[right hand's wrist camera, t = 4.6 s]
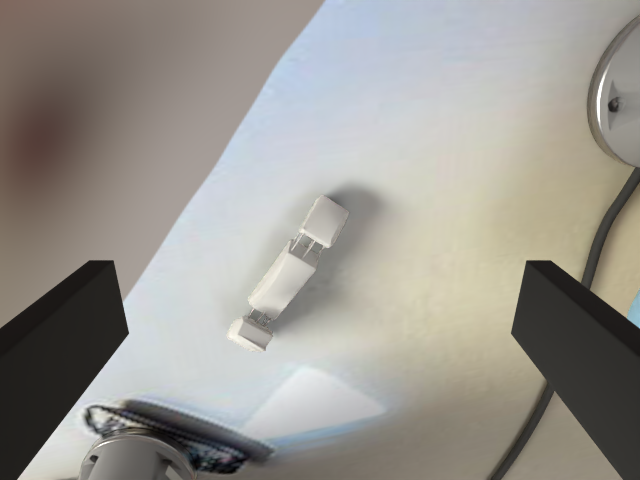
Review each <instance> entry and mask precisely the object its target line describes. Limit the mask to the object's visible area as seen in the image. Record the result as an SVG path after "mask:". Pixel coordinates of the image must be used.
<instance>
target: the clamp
mask: <svg viewBox="0 0 640 480" xmlns="http://www.w3.org/2000/svg"><path fill="white" fill-rule="evenodd" d="M348 216H349V211H347V210H346V209H344V208H343V207H341V206H340V205H338V204H336V203H335V202H333V201H332V200H330V199H329V198H327V197H326V196H323V195H321V196H320V197H319V198H318V199H316V200H315V202H314V204H313V206H312V207H311V209H310V211H309V213H308V214H307V216H306V218H305V220H304V221H303V223H302V225H301V227H300V228H299V230H298V234H297V235H296V237H295V239H294V240H290V241H289V242H288V243H287V245H286V246H285V248H284V249H283V250H282V252H281V253H280V255H279V256H278V257H277V259H276V260H275V261H274V263H273V264H272V266H271V267H270V268H269V270H268V271H267V273H266V274H265V275H264V277H263V278H262V279H261V281H260V282H259V284H258V285H257V286H256V288H255V289H254V290H253V292H252V293H251V295H250V296H249V297H248V302H249V303H250V305H251V307H253V309H252V310H251V312H250V314H249V316H248V317H247V316H245V315H244V316H242V317H240V318H238V319H236V320H234V321H233V323H232V325H231V327H230V329H229V330H228V332H227V338H228V339H230V340H231V341H233V342H235V343H237V344H238V345H240V346H242V347H243V348H245V349H247V350H249V351H256V352H263V351H265V350H266V346H267V345H268V343H269V342H270V340H271V339H272V337H273V335H272V331H270V330H268V327H266V325H267V324H268V323H269V322H270V321H271V319H272V320H275V319H276V318H277V317H278V316H279V315H280V314H281V313H282V311H283V310H284V309H285V308H286V307H287V305H288V304H289V303H290V302H291V300H292V299H293V298H294V297H295V295H296V294H297V293H298V292H299V290H300V289H301V288H302V287H303V286H304V284H305V283H306V282H307V281H308V280H309V278H310V277H311V276H312V275H313V274H314V272H315V271H316V269H317V265H318V260H319V257H320V255H321V252H322V251H323V249H324V248H325V247H326V248H329V247H332V245H333V244H334V242H335V241H336V239H337V238H338V236H339V234H340V232H341V230H342V228H343V227H344V224H345V222H346V220H347V218H348ZM300 233H301V236H300V237H299V239H298V241H296V239H297V237H298V235H299V234H300ZM303 235H306V236H307V237H309V238H311V239H313V240H312V241H311V243H310V244H309V246H308V247H305V246H304V245H302V244H300V243H299V241H300V239H301V238H302V236H303ZM315 242H318V243H320V244H321V245H323V247H322V249H321V250H320V251H319V253H318V254H317V253H315V252H314V251H312V250H311V248H312V246H313V245H314V243H315ZM254 309H256V310H258V311H259V312H261V313H262V315H261V316H260V317H259V318H258V320H257V321H255V320H253V319H251V318H249V317H250V316H251V314H252V312H253V310H254ZM263 315H266V318H265V319H264V321H263V324H260V323H258V321H259V320H260V319H261V317H262V316H263ZM268 317H269V318H270V319H269V320H268V321H267V322H266V323H265V321H266V319H267V318H268ZM264 323H265V325H264Z"/></svg>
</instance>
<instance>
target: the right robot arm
mask: <svg viewBox="0 0 640 480" xmlns="http://www.w3.org/2000/svg"><path fill="white" fill-rule="evenodd" d="M587 115H588V122H589V126H590V130H591V132H592V135H593V137H594V139H595V141H596V142H597V144H598V145H599V147H600V148H601V149H602V150H603V151H604V152H605V153H606V154H607V155H608V156H610V157H611V158H613V159H614V160H616V161H618V162H620V163H623V164H625V165H629V166H633V167H636V168H635V169H634V171H633V172H632V174H631V176H630V177H629V179H628V181H627V182H626V184H625V185H624V187H623V189H622V190H621V192H620V193H619V195H618V196H617V198H616V199H615V201H614V202H613V203H612V205H611V206H610V208H609V209H608V211H607V212H606V214H605V216H604V218H603V220H602V222H601V224H600V226H599V228H598V231H597V233H596V236H595V238H594V241H593V244H592V247H591V250H590V254H589V257H588V261H587V264H586V268H585V272H584V275H583V279H582V282H581V283H580V282H578V281H577V280H576V279H574V278H573V277H572V276H570V275H569V274H568V273H566V272H565V271H564V270H562V269H561V268H560V267H559V266H557V265H556V264H555V263H553V262H552V261H551V260H527V261H526V265H525V270H524V275H523V279H522V284H521V289H520V293H519V298H518V303H517V308H516V312H515V317H514V322H513V326H512V331H511V334H512V335H513V337H514V338H515V339H516V341H517V342H518V343H519V345H520V346H521V347H522V349H523V350H524V351H525V352H526V354H527V355H528V356H529V358H530V359H531V360H532V362H533V363H534V364H535V365H536V367H537V368H538V369H539V371H540V372H541V373H542V375H543V376H544V377H545V379H546V380H547V381H548V384H547V387H546V389H545V391H544V393H543V395H542V397H541V400H540V402H539V404H538V406H537V408H536V410H535V412H534V414H533V415H532V417H531V419H530V421H529V423H528V424H527V426H526V428H525V430H524V431H523V433H522V435H521V436H520V438H519V440H518V441H517V443H516V444H515V446H514V447H513V449H512V451H511V452H510V454H509V455H508V456H507V458H506V459H505V461H504V462H503V464H502V465H501V466H500V468H499V469H498V470H497V472H496V473H495V474H494V476H493V477H492V479H491V480H501V479H502V477H503V476H504V475H505V473H506V472H507V471H508V469H509V468H510V466H511V465H512V464H513V462H514V461H515V459H516V458H517V457H518V455H519V454H520V452H521V451H522V449H523V447H524V446H525V444H526V443H527V441H528V439H529V438H530V436H531V435H532V433H533V431H534V430H535V428H536V426H537V424H538V423H539V421H540V419H541V417H542V415H543V413H544V411H545V409H546V407H547V405H548V403H549V401H550V399H551V397H552V395H553V393H554V391H555V392H556V393H557V394H558V395H559V397H560V398H561V399H562V401H563V402H564V403H565V405H566V406H567V407H568V408H569V410H570V411H571V412H572V414H573V415H574V416H575V418H576V419H577V420H578V422H579V423H580V424H581V425H582V427H583V428H584V429H585V431H586V432H587V433H588V435H589V436H590V437H591V438H592V440H593V441H594V442H595V444H596V445H597V446H598V448H599V449H600V450H601V452H602V453H603V454H604V455H605V457H606V458H607V459H608V461H609V462H610V463H611V465H612V466H613V467H614V468H615V470H616V471H617V472H618V474H619V475H620V476H621V478H622V479H623V480H640V289H639V291H638V293H637V295H636V297H635V299H634V301H633V303H632V305H631V307H630V309H629V311H628V316H627V318H625V317H624V316H623V315H621V314H620V313H619V312H618V311H616V310H615V309H614V308H612V307H611V306H610V305H608V304H607V303H606V302H604V301H603V300H602V299H600V298H599V297H598V296H597V295H595V294H594V293H593V292H591V291H590V287H591V284H592V281H593V277H594V274H595V271H596V267H597V264H598V260H599V257H600V253H601V250H602V247H603V244H604V242H605V239H606V237H607V234H608V232H609V230H610V227H611V225H612V223H613V221H614V219H615V218H616V216H617V215H618V213H619V212H620V210H621V209H622V207H623V206H624V205H625V203H626V202H627V200H628V199H629V198H630V196H631V195H632V193H633V191H634V190H635V188H636V187H637V185H638V184H639V182H640V15H639V16H637V17H636V18H635V19H633V20H632V21H631V22H630V23H629V24H628V25H627V26H626V27H625V28H624V29H623V30H622V31H620V33H619V34H618V35H617V36H616V37H615V38H614V40H613V41H612V42H611V44H610V45H609V46H608V48H607V49H606V51H605V52H604V54H603V56H602V57H601V59H600V61H599V63H598V65H597V67H596V70H595V72H594V75H593V77H592V80H591V84H590V88H589V93H588V101H587ZM128 334H129V331H128V326H127V322H126V317H125V312H124V308H123V303H122V298H121V293H120V289H119V284H118V280H117V275H116V270H115V265H114V261H113V260H90V261H88V262H87V263H85V264H84V265H83V266H82V267H80V268H79V269H78V270H76V271H75V272H74V273H72V274H71V275H70V276H68V277H67V278H66V279H64V280H63V281H62V282H61V283H59V284H58V285H57V286H55V287H54V288H53V289H51V290H50V291H49V292H47V293H46V294H45V295H43V296H42V297H41V298H40V299H38V300H37V301H36V302H34V303H33V304H32V305H30V306H29V307H28V308H26V309H25V310H24V311H22V312H21V313H20V314H19V315H17V316H16V317H15V318H13V319H12V320H11V321H9V322H8V323H7V324H5V325H4V326H3V327H1V328H0V480H17V479H18V478H19V476H20V475H21V474H22V472H23V471H24V470H25V468H26V467H27V466H28V465H29V463H30V462H31V461H32V459H33V458H34V457H35V455H36V454H37V453H38V452H39V450H40V449H41V448H42V446H43V445H44V444H45V442H46V441H47V440H48V438H49V437H50V436H51V435H52V433H53V432H54V431H55V429H56V428H57V427H58V425H59V424H60V423H61V422H62V420H63V419H64V418H65V416H66V415H67V414H68V412H69V411H70V410H71V408H72V407H73V406H74V405H75V403H76V402H77V401H78V399H79V398H80V397H81V395H82V394H83V393H84V392H85V390H86V389H87V388H88V386H89V385H90V384H91V382H92V381H93V380H94V379H95V377H96V376H97V375H98V373H99V372H100V371H101V369H102V368H103V367H104V365H105V364H106V363H107V362H108V360H109V359H110V358H111V356H112V355H113V354H114V352H115V351H116V350H117V349H118V347H119V346H120V345H121V343H122V342H123V341H124V339H125V338H126V337H127V335H128Z"/></svg>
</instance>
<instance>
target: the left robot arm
mask: <svg viewBox="0 0 640 480" xmlns="http://www.w3.org/2000/svg"><path fill="white" fill-rule="evenodd" d="M196 477H197V470H196V465H195V462H194V460H193V458H192V456H191V455H190V454H189V452H188V451H187V450H186V449H185V448H184V447H183V446H182V445H181V444H179V443H178V442H177V441H175V440H173V439H172V438H170V437H168V436H166V435H164V434H161V433H158V432H155V431H151V430H146V429H121V430H117V431H113V432H110V433H108V434H106V435H104V436H102V437H101V438H99V439H98V440H97V441H96V442H95V443H94V444H93V446H92V447H91V449H90V450H89V452H88V454H87V455H86V457H85V458H84V460H83V462H82V465H81V470H80V474H79V478H78V480H196Z"/></svg>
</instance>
